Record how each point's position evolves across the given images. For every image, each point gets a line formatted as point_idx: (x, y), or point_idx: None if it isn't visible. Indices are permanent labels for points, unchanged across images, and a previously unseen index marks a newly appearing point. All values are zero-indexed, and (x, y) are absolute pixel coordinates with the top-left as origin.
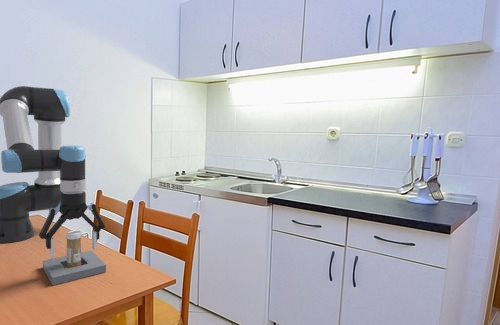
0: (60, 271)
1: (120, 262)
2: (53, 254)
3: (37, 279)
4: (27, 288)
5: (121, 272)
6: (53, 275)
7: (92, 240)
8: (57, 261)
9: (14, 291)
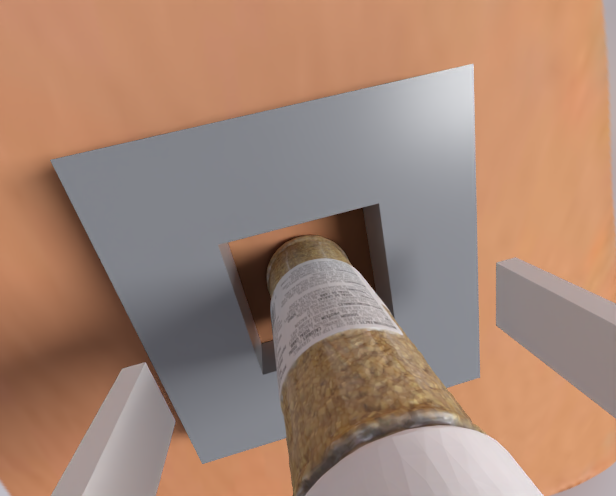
0: (237, 401)
1: (552, 253)
2: (160, 458)
3: (108, 340)
4: (86, 425)
5: (509, 371)
6: (203, 440)
7: (571, 322)
8: (194, 228)
9: (26, 441)
